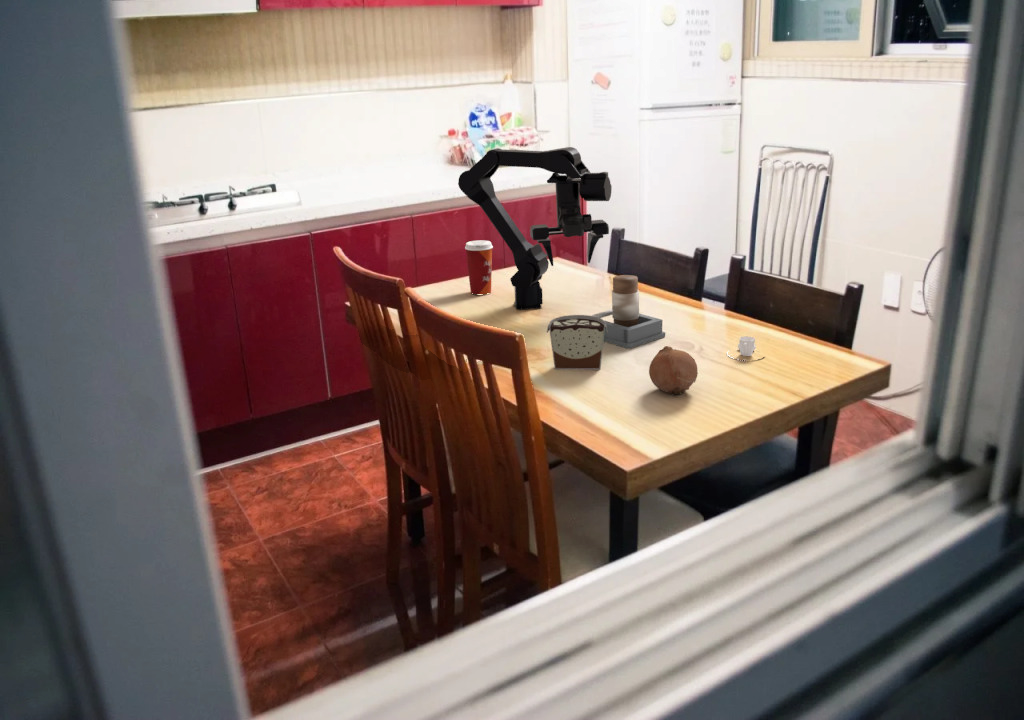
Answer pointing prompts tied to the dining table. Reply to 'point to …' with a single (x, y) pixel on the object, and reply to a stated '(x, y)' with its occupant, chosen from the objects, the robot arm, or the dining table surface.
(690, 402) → the dining table surface
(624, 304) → the cord spool
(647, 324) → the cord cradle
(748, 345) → the teacup and saucer
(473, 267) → the paper cup
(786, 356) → the dining table surface
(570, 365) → the food container
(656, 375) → the onion
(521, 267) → the robot arm
